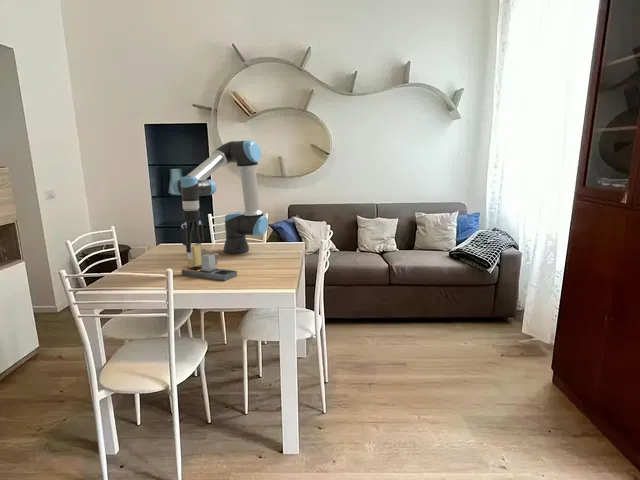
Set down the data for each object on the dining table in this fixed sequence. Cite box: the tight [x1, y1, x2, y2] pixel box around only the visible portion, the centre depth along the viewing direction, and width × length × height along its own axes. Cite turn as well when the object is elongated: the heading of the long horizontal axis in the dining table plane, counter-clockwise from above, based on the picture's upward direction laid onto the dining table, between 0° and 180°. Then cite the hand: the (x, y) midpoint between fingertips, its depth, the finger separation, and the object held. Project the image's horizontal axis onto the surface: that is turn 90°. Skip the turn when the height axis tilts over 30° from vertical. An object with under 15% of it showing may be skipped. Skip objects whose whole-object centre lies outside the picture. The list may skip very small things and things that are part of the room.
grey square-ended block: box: [201, 254, 217, 273], centre depth 200 cm, size 4×4×10 cm
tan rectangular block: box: [186, 243, 202, 267], centre depth 203 cm, size 4×4×10 cm
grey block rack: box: [181, 266, 238, 282], centre depth 200 cm, size 9×26×3 cm, turn 64°
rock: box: [199, 248, 220, 266], centre depth 219 cm, size 12×7×10 cm, turn 93°
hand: (194, 257), depth 203 cm, fingers closed on tan rectangular block, 4 cm apart
